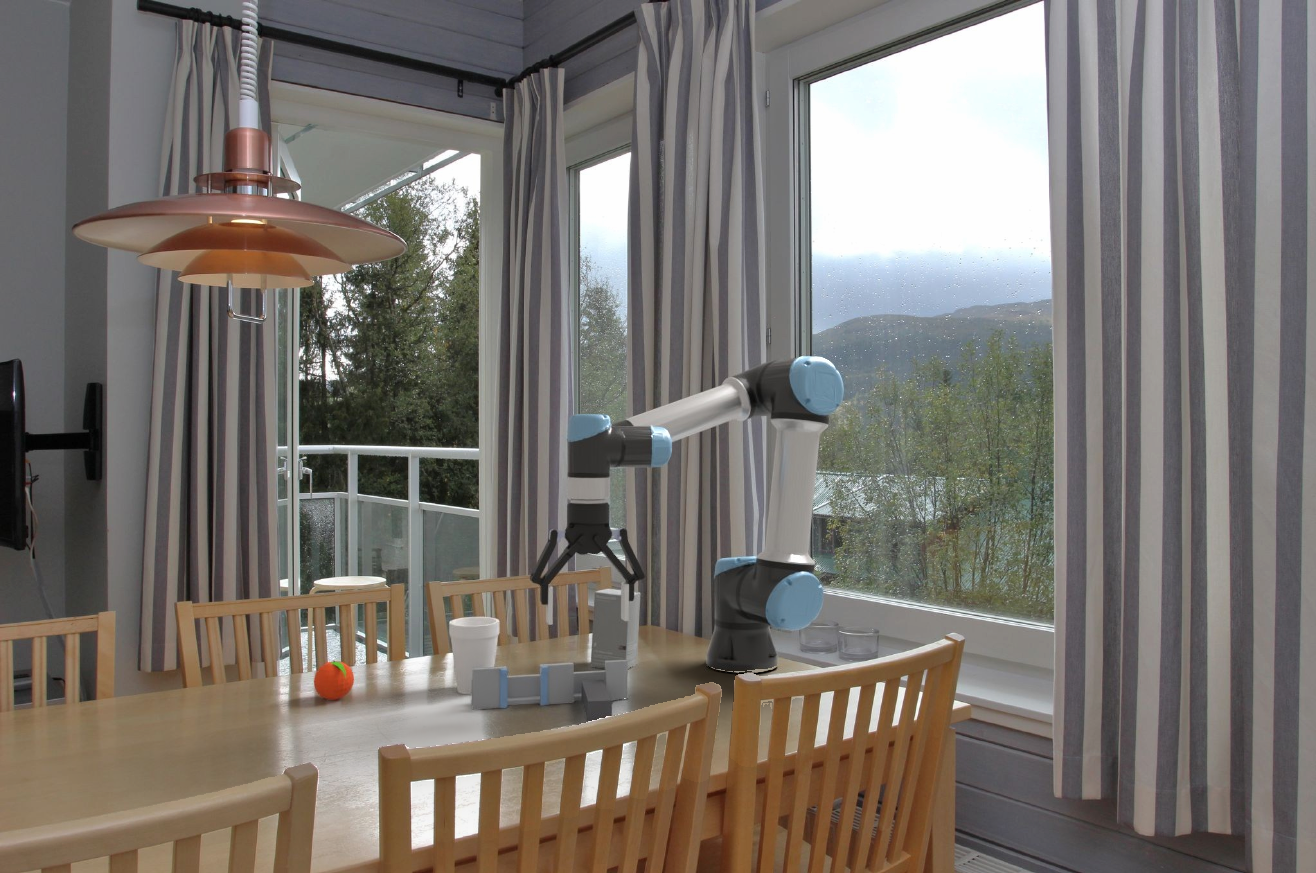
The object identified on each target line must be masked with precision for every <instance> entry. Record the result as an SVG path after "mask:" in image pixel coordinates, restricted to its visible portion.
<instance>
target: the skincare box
mask: <svg viewBox="0 0 1316 873" xmlns="http://www.w3.org/2000/svg"><path fill="white" fill-rule="evenodd" d="M641 594H642V593H641V592H637V591H634V600H633V601H629V621H624V620H622V619H621V589H614V588H613V589H612V588H605V589H601V590H596V591H594V600H593V603H594V604H593V619H592V634H591V652H590V657H591V658H590V666H591V668H595V667H597V669H605V661H610V660H627V661H628V670H629V669H631V668H633V667H635V666H637V665H636V664H638V647H639V646H638V645H639V644H638V643H639V642H638V641H639V627H640V626H639V625H640V606H641ZM632 666H633V667H632ZM630 667H631V668H630Z"/></svg>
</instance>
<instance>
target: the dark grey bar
mask: <svg viewBox="0 0 1316 873" xmlns="http://www.w3.org/2000/svg"><path fill="white" fill-rule="evenodd" d="M612 701H613V700H612V699H611V697H610V695H609V692H608V690H607V687H606V685H605V683H604V680H584V681H582V694H581V700H580V702H581V704H582V708H583V711H584V714H585V717H586V721H587V722H588V721H592V720H597V719H599V718H605V717H606V716H612V717H613V702H612Z"/></svg>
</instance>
